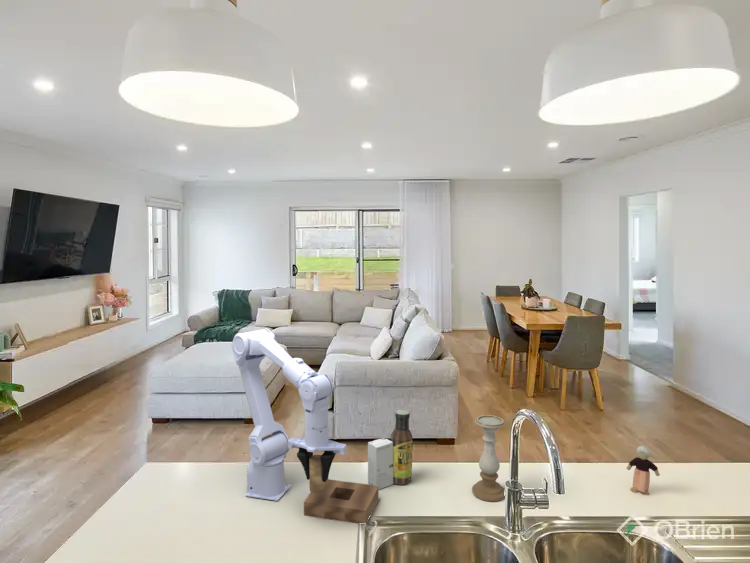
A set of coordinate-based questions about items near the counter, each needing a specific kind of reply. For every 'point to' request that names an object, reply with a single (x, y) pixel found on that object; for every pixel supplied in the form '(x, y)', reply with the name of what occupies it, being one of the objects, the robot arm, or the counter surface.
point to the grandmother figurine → (642, 470)
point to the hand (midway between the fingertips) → (317, 478)
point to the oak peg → (315, 474)
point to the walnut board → (343, 501)
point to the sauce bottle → (402, 448)
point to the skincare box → (380, 463)
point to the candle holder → (489, 461)
